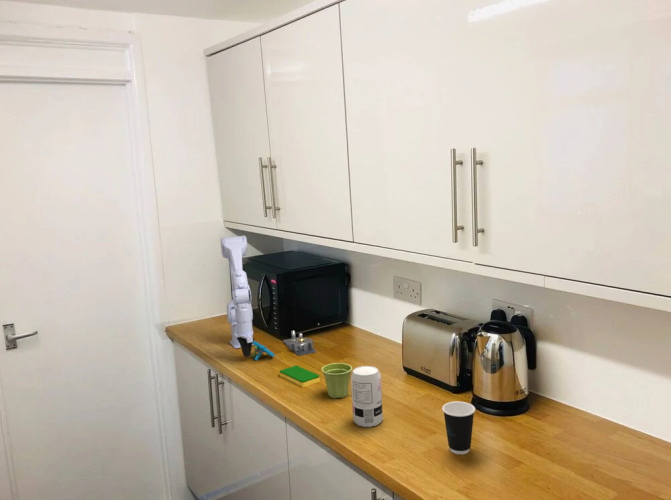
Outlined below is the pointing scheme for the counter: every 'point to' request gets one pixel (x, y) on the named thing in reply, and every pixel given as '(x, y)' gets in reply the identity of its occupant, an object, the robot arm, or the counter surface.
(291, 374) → the dish sponge
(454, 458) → the counter surface
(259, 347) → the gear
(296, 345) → the gear board
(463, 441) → the dixie cup
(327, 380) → the plant pot
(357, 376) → the supplement can
